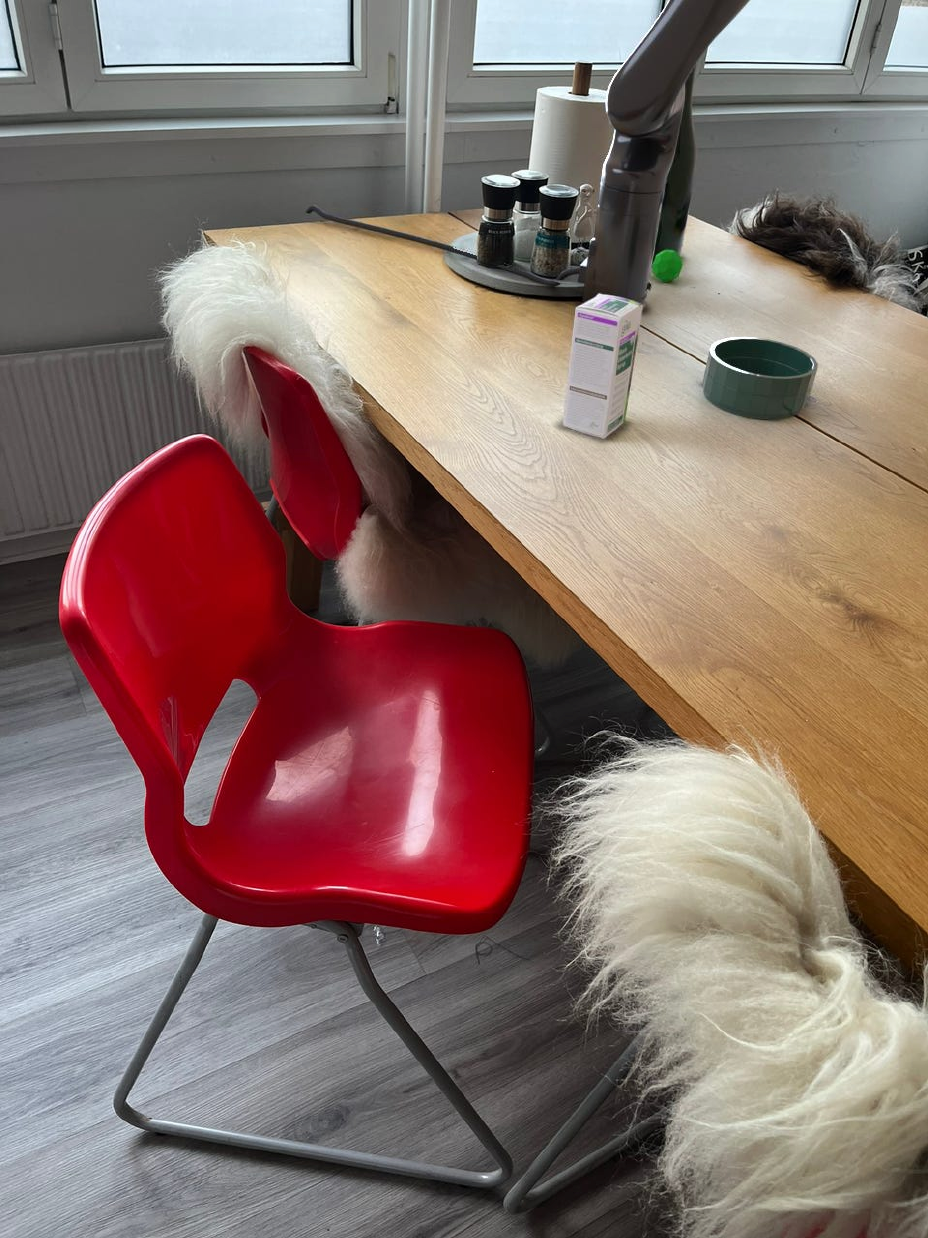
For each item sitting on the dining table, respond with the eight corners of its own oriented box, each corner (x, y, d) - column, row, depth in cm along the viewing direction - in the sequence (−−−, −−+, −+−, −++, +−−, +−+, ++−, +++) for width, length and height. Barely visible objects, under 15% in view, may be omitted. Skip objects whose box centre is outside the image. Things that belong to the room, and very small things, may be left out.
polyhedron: (684, 280, 158) (690, 250, 155) (673, 287, 155) (678, 257, 152) (656, 273, 160) (661, 244, 157) (645, 280, 157) (650, 251, 154)
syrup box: (605, 440, 109) (625, 316, 100) (559, 426, 111) (575, 303, 102) (625, 423, 113) (646, 302, 104) (581, 409, 115) (598, 290, 106)
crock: (693, 408, 117) (702, 365, 114) (708, 369, 128) (717, 330, 124) (801, 429, 114) (814, 386, 111) (808, 388, 124) (820, 348, 121)
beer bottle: (644, 265, 163) (681, 43, 143) (610, 247, 171) (641, 34, 150) (692, 259, 167) (735, 43, 147) (657, 242, 175) (693, 34, 155)
